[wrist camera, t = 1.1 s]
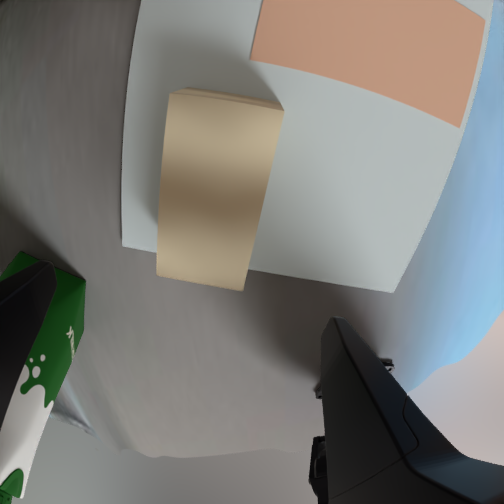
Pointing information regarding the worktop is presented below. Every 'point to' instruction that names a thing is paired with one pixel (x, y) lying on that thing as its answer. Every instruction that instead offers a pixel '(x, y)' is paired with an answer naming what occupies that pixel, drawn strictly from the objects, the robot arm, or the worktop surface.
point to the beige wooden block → (213, 184)
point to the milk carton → (39, 378)
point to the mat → (317, 120)
